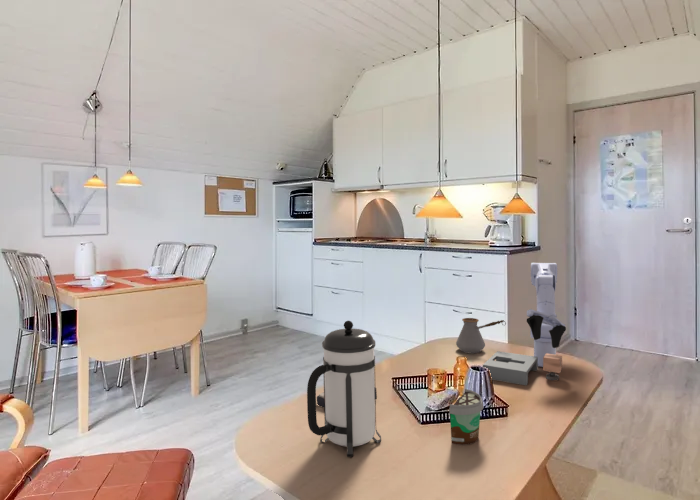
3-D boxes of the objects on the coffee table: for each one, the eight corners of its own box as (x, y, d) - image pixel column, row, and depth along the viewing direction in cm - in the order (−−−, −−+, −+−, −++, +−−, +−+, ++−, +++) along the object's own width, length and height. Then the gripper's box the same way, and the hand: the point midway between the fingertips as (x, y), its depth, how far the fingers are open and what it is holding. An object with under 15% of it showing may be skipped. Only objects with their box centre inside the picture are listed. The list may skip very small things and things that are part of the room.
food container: (475, 452, 104) (475, 410, 103) (449, 446, 107) (449, 405, 106) (489, 430, 114) (489, 392, 113) (465, 425, 117) (465, 388, 117)
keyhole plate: (497, 363, 167) (497, 351, 166) (537, 369, 159) (537, 356, 159) (482, 377, 152) (482, 364, 151) (526, 385, 144) (526, 371, 144)
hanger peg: (545, 374, 153) (546, 353, 153) (561, 377, 151) (562, 355, 150) (543, 379, 149) (543, 357, 149) (559, 382, 146) (559, 359, 146)
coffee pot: (450, 350, 184) (449, 314, 183) (467, 345, 191) (467, 310, 190) (496, 362, 167) (496, 322, 166) (513, 356, 174) (513, 318, 173)
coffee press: (321, 426, 118) (318, 314, 116) (382, 428, 116) (380, 314, 114) (308, 462, 101) (304, 330, 99) (379, 465, 99) (377, 331, 97)
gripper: (537, 294, 148) (537, 331, 141) (571, 310, 152) (573, 347, 144) (522, 301, 154) (521, 337, 147) (555, 316, 157) (556, 352, 150)
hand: (546, 343), depth 146 cm, fingers open, 7 cm apart
